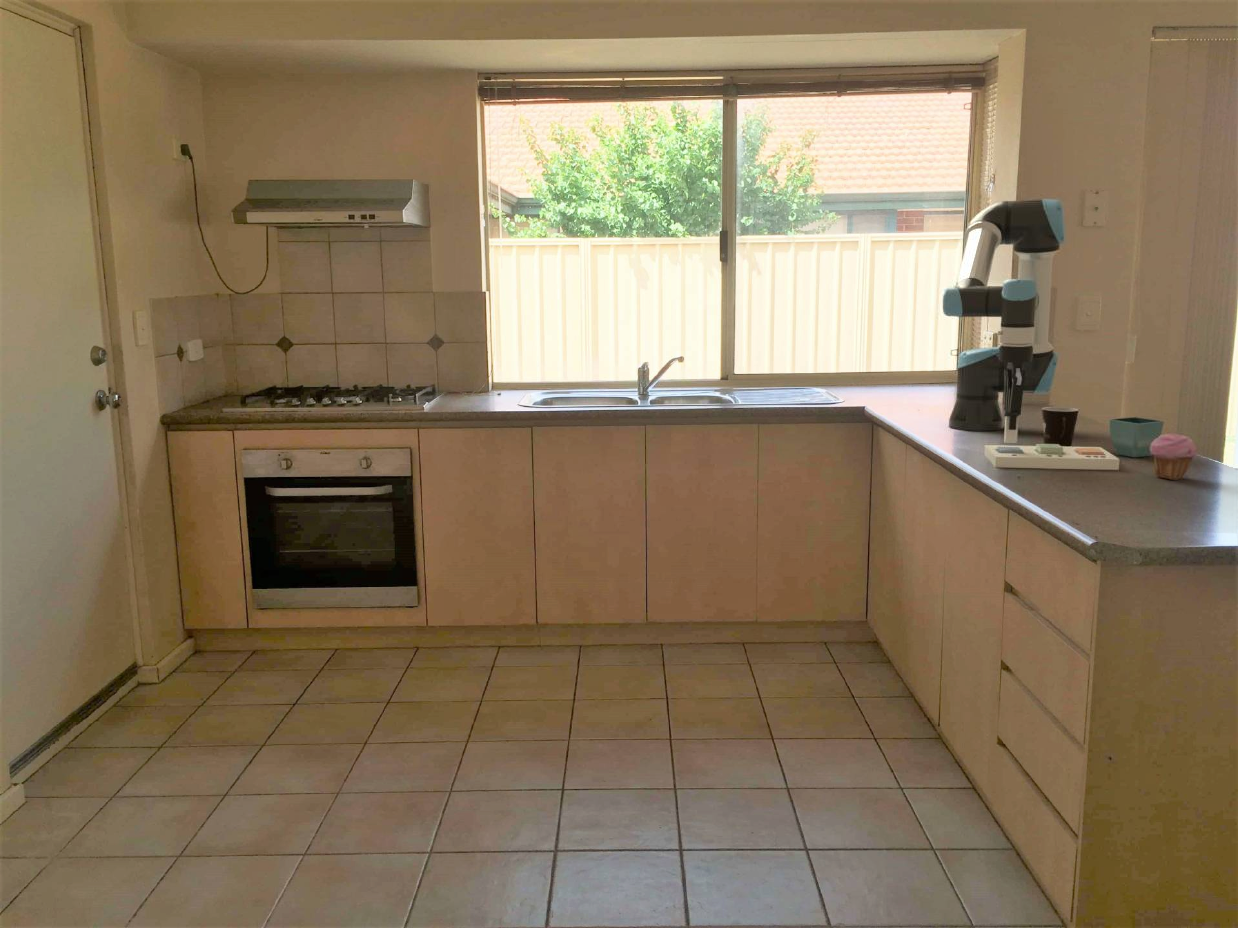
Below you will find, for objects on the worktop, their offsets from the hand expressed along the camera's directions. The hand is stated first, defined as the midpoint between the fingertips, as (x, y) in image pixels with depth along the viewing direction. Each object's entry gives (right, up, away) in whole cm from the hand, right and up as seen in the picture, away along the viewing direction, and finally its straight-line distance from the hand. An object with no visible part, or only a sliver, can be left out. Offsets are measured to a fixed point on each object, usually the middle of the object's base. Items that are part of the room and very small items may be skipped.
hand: (1010, 442), depth 238 cm
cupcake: (+27, -9, -21) cm, 35 cm away
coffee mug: (+19, -1, +17) cm, 25 cm away
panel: (+9, -5, -1) cm, 10 cm away
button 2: (+9, -4, -2) cm, 10 cm away
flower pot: (+32, -3, +5) cm, 33 cm away
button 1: (0, -4, 0) cm, 4 cm away
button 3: (+18, -5, -3) cm, 18 cm away
